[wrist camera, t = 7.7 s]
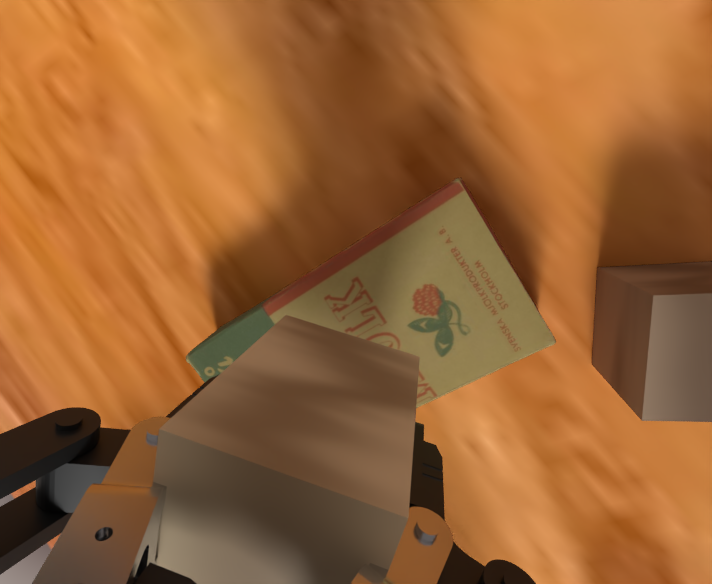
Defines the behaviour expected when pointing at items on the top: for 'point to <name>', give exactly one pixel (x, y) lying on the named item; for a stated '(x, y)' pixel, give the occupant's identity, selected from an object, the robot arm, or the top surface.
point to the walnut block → (656, 338)
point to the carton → (409, 298)
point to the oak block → (291, 462)
